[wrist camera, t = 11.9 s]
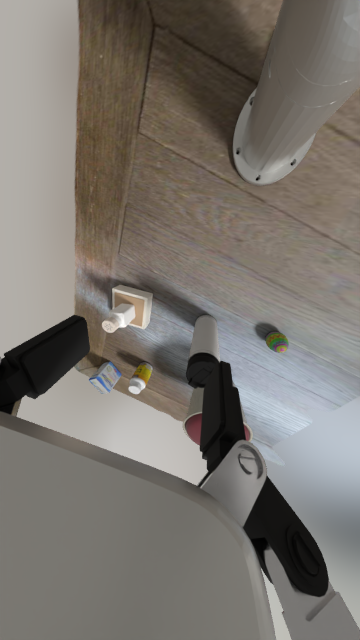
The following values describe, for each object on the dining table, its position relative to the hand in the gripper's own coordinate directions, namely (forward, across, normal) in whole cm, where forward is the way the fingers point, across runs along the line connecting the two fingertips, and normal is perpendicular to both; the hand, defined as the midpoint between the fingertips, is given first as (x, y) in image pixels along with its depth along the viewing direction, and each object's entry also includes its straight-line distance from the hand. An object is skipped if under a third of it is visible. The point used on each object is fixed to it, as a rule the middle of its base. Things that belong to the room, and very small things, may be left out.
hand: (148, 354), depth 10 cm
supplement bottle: (+30, +8, +39) cm, 50 cm away
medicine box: (+30, +22, +47) cm, 60 cm away
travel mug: (+31, -7, +14) cm, 35 cm away
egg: (+31, -26, +12) cm, 42 cm away
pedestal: (+31, +15, +14) cm, 37 cm away
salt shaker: (+27, +15, +14) cm, 34 cm away
